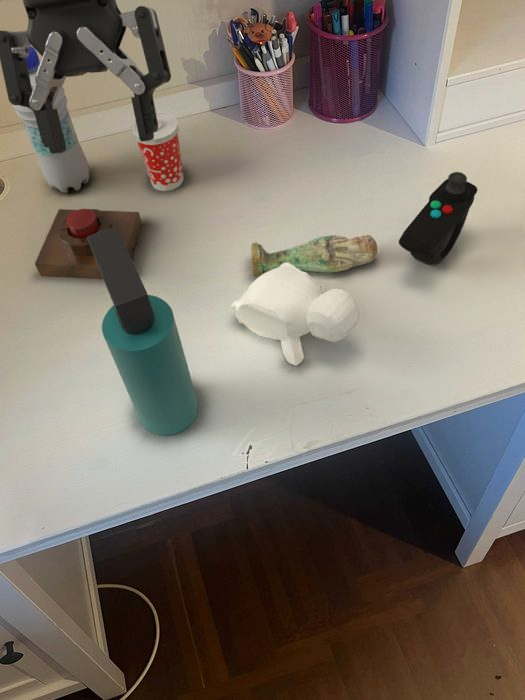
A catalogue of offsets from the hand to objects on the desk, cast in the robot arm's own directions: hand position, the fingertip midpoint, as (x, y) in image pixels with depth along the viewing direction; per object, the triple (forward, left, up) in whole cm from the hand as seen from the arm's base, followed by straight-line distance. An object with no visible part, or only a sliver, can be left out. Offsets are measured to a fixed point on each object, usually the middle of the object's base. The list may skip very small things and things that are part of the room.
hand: (102, 146), depth 59 cm
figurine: (+18, +9, -24) cm, 31 cm away
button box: (-10, +10, -24) cm, 28 cm away
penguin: (+17, -2, -24) cm, 29 cm away
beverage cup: (-3, +24, -24) cm, 34 cm away
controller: (+33, +11, -24) cm, 42 cm away
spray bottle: (+3, -11, -24) cm, 26 cm away
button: (-10, +10, -20) cm, 25 cm away
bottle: (-17, +23, -24) cm, 37 cm away
